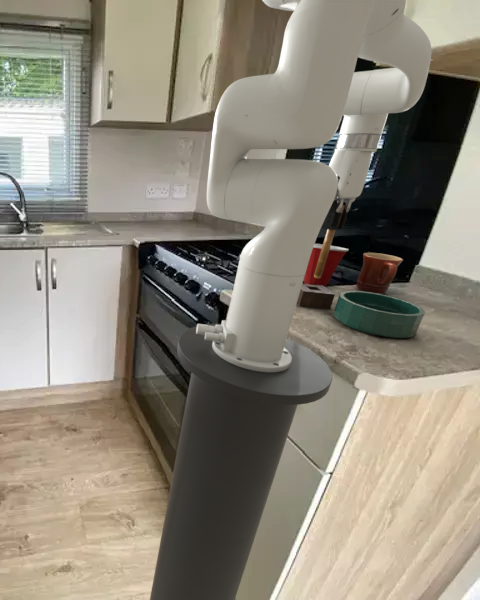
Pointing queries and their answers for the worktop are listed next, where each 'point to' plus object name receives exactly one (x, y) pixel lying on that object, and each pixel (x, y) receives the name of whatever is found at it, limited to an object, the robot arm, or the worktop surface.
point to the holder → (315, 296)
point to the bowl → (378, 314)
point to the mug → (377, 272)
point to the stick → (325, 251)
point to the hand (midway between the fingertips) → (331, 228)
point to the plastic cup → (330, 265)
